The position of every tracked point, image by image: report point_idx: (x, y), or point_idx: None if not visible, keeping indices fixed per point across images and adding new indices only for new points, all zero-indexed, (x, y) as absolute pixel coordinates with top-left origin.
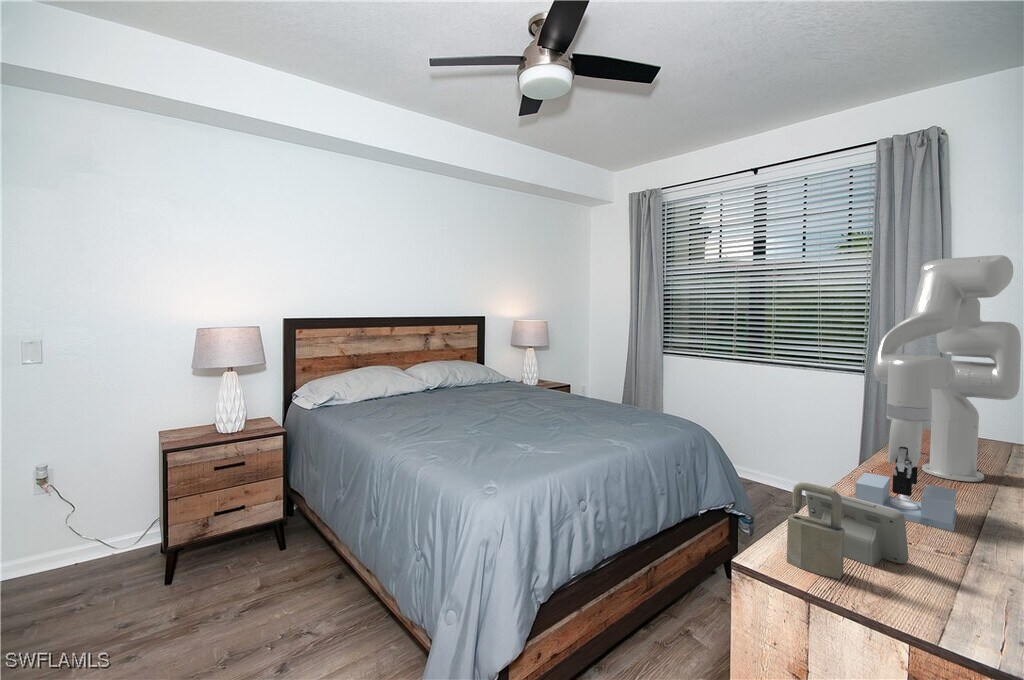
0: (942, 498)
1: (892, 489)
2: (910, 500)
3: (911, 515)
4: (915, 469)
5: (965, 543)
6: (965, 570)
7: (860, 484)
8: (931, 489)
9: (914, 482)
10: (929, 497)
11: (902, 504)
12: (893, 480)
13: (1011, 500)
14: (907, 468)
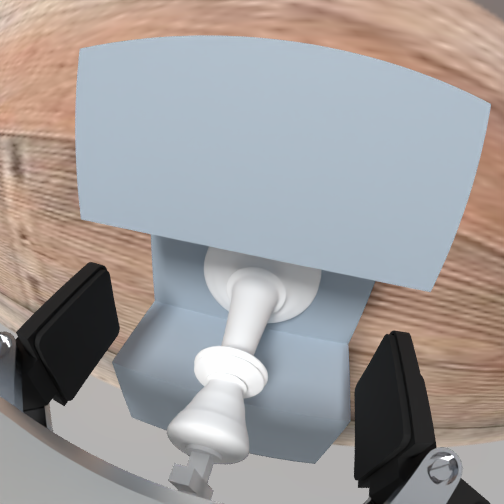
0: (151, 411)
1: (83, 268)
2: (279, 309)
3: (153, 275)
4: (355, 472)
5: (113, 344)
6: (11, 299)
7: (82, 79)
8: (261, 421)
9: (358, 392)
10: (123, 381)
11: (206, 267)
12: (44, 308)
13: (480, 441)
14: (375, 451)
